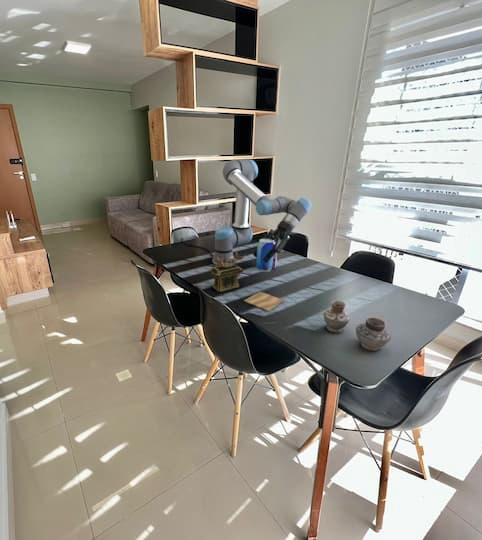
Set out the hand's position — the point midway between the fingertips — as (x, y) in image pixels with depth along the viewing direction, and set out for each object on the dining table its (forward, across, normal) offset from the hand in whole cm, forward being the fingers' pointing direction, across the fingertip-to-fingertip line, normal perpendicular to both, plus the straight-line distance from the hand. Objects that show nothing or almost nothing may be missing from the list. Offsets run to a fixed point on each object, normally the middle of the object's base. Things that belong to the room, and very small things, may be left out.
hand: (259, 258), depth 148 cm
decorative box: (+21, +10, -4) cm, 24 cm away
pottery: (+6, -53, -18) cm, 56 cm away
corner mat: (+16, -13, -9) cm, 22 cm away
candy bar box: (-5, +26, -30) cm, 40 cm away
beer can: (+3, 0, -7) cm, 8 cm away
